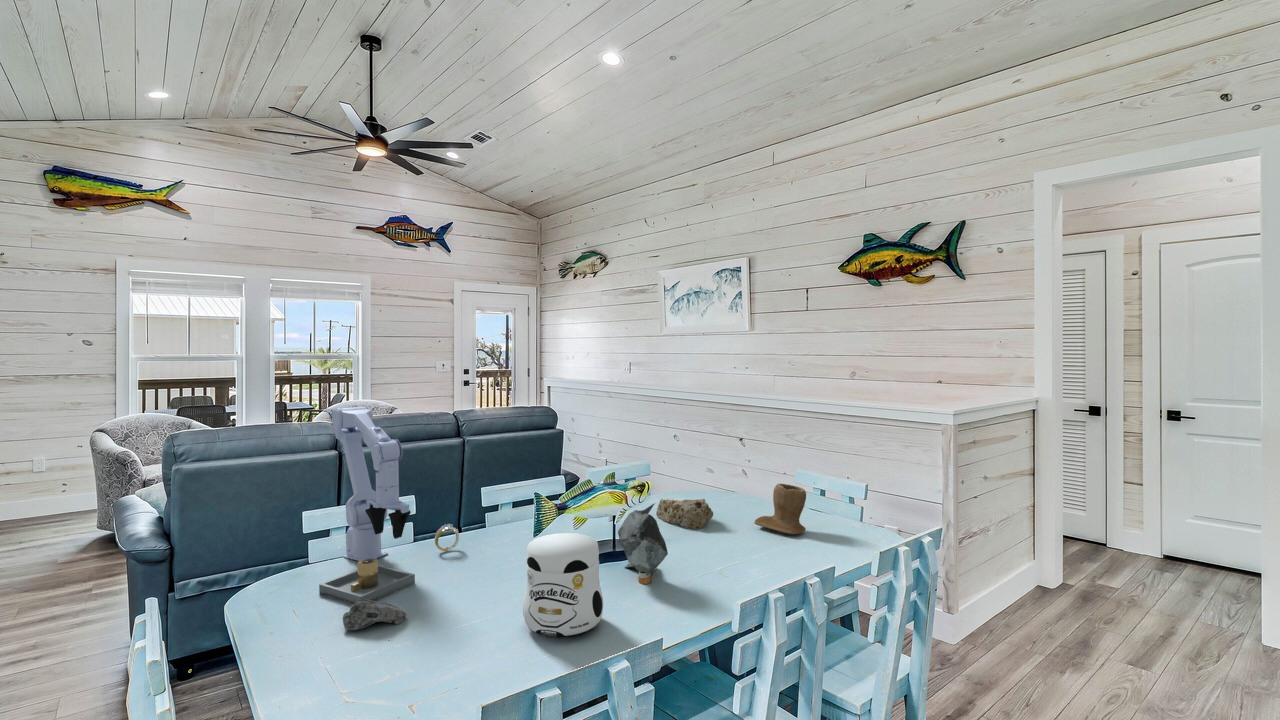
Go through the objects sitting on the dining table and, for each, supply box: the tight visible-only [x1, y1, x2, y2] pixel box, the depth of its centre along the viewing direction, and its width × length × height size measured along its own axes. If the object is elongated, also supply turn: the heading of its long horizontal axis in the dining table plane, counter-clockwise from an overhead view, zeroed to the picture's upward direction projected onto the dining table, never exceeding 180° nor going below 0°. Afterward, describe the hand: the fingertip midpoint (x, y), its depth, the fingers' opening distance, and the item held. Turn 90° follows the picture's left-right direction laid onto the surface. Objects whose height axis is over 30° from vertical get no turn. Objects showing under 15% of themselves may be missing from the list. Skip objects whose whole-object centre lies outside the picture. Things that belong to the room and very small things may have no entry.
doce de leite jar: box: [522, 532, 604, 639], centre depth 131 cm, size 17×17×18 cm
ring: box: [434, 523, 460, 552], centre depth 178 cm, size 7×3×8 cm, turn 121°
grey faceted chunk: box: [617, 502, 669, 585], centre depth 158 cm, size 14×15×18 cm
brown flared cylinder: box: [753, 483, 807, 535], centre depth 197 cm, size 15×12×15 cm
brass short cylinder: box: [351, 558, 379, 592], centre depth 151 cm, size 7×5×6 cm
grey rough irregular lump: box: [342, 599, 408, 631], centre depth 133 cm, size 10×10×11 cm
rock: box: [656, 498, 714, 530], centre depth 207 cm, size 20×14×10 cm
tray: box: [318, 564, 416, 605], centre depth 152 cm, size 16×16×2 cm
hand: (388, 535), depth 164 cm, fingers open, 7 cm apart
